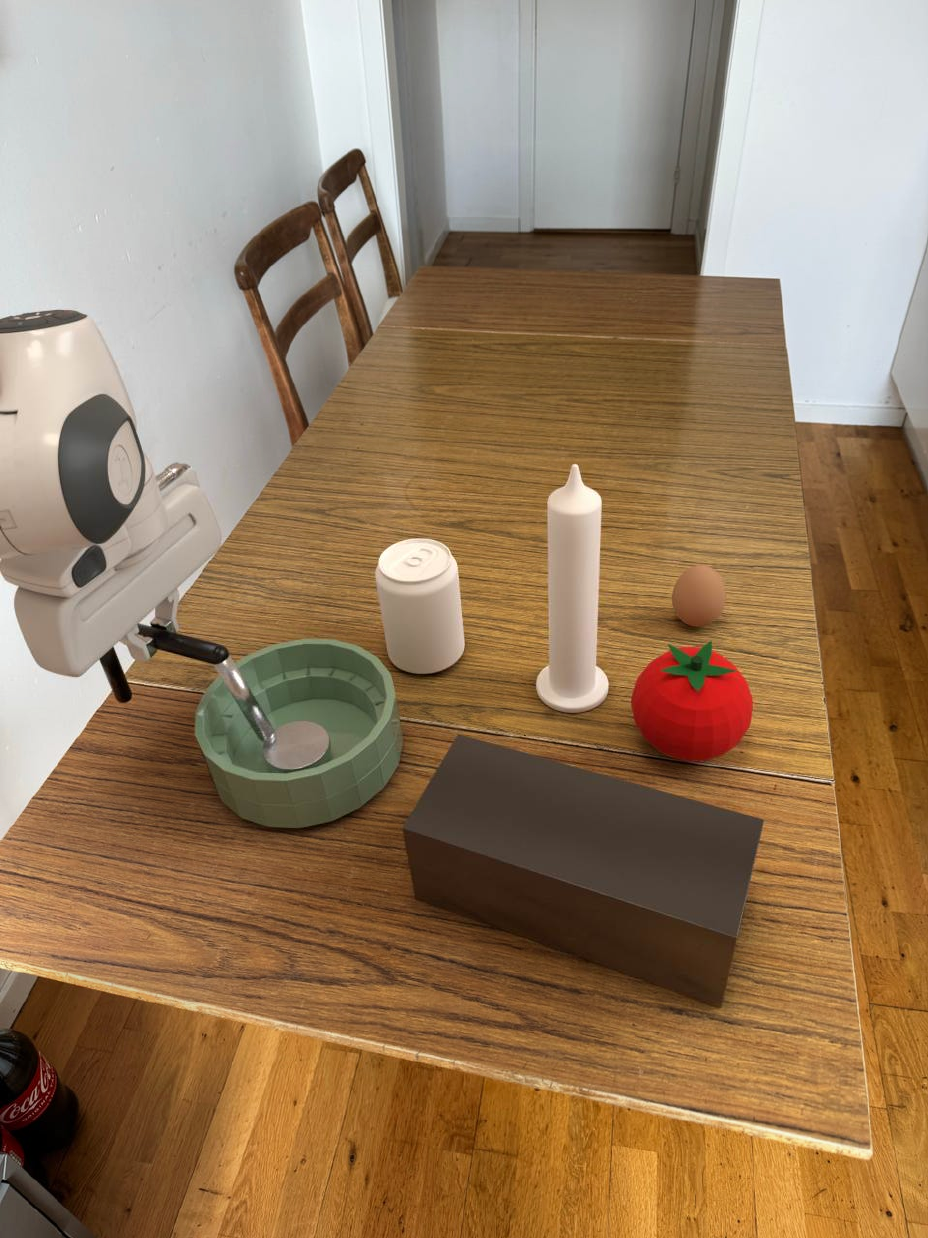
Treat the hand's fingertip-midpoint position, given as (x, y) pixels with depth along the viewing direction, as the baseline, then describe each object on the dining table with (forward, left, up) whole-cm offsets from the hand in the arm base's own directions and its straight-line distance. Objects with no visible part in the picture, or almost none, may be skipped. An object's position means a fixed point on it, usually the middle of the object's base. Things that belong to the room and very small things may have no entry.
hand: (156, 645), depth 79 cm
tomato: (+16, -45, -12) cm, 49 cm away
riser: (-3, -41, -11) cm, 42 cm away
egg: (+33, -42, -12) cm, 54 cm away
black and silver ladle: (0, -4, -9) cm, 10 cm away
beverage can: (+19, -17, -12) cm, 28 cm away
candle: (+19, -33, -12) cm, 39 cm away
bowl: (+2, -13, -11) cm, 17 cm away
